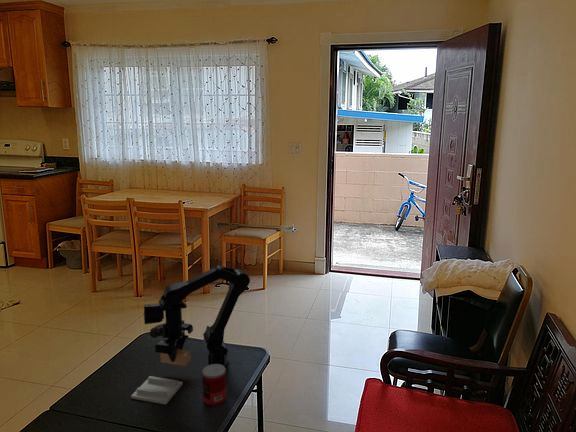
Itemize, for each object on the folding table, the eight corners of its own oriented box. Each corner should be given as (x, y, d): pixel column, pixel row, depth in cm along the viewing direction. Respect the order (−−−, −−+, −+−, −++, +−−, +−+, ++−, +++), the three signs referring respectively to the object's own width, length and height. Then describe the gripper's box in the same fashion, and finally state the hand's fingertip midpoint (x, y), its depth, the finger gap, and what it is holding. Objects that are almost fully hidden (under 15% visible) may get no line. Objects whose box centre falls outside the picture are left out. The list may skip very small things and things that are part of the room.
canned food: (230, 394, 157) (229, 365, 154) (219, 408, 149) (218, 378, 147) (210, 390, 159) (209, 361, 157) (198, 403, 152) (197, 373, 149)
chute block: (190, 360, 169) (190, 350, 168) (185, 365, 165) (185, 356, 164) (166, 356, 171) (165, 347, 171) (160, 362, 168) (160, 352, 167)
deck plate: (182, 384, 162) (182, 378, 162) (165, 404, 151) (165, 397, 151) (150, 379, 166) (149, 372, 165) (131, 398, 154) (130, 391, 154)
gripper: (166, 307, 175) (168, 344, 179) (139, 328, 158) (142, 368, 161) (192, 310, 173) (194, 347, 176) (168, 332, 155) (170, 373, 159)
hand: (175, 358), depth 168 cm, fingers closed on chute block, 4 cm apart
